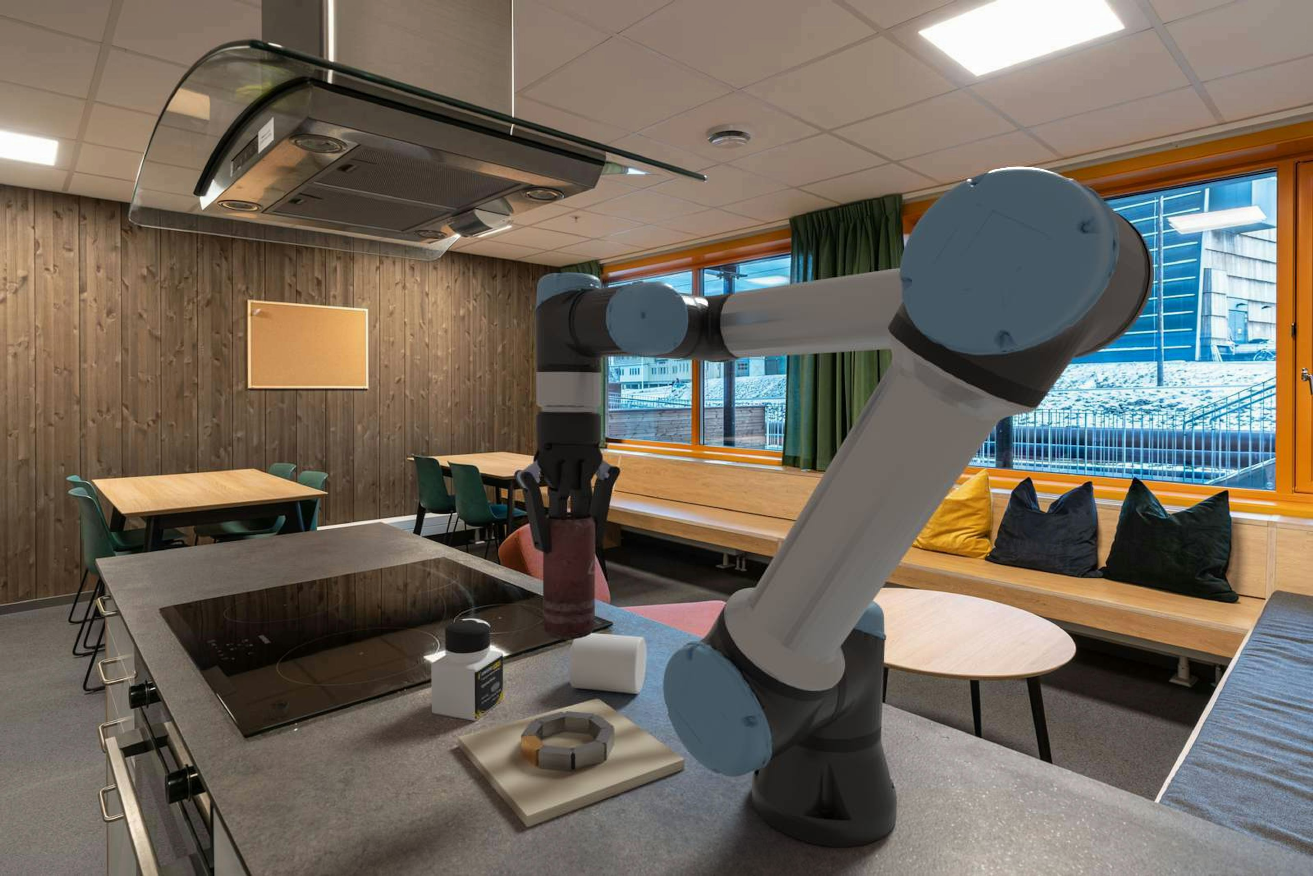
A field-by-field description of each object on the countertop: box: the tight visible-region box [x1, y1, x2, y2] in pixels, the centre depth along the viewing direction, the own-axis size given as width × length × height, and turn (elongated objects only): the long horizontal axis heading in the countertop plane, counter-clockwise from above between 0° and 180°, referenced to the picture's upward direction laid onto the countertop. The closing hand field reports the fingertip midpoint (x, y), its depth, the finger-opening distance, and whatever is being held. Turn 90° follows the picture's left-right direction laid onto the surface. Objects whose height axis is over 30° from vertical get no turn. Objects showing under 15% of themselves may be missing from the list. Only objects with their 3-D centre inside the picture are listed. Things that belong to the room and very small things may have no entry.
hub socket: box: [521, 711, 614, 772], centre depth 86 cm, size 10×10×2 cm
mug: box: [568, 632, 648, 695], centre depth 108 cm, size 12×10×8 cm
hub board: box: [457, 697, 686, 828], centre depth 86 cm, size 20×20×1 cm
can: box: [542, 511, 596, 640], centre depth 85 cm, size 6×6×14 cm
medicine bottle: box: [430, 618, 504, 722], centre depth 99 cm, size 7×7×12 cm
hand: (568, 608), depth 85 cm, fingers closed
